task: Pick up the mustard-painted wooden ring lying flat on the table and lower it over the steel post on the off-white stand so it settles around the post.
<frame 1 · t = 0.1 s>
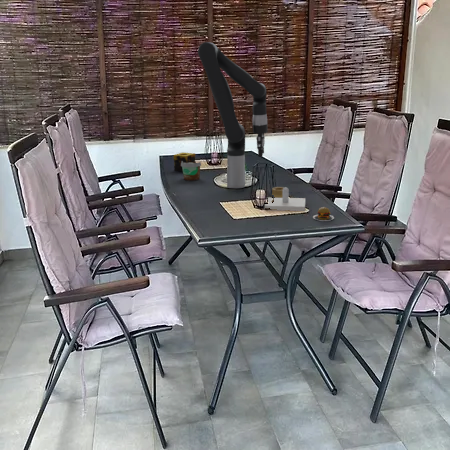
hand: (261, 154, 263), 17 cm above the table, tool pointing down, fingers open, 8 cm apart
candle: (185, 170, 315), on the table
hamburger: (323, 220, 215), on the table
food container: (189, 180, 289), on the table
post stand: (285, 206, 234), on the table
ring: (278, 197, 248), on the table
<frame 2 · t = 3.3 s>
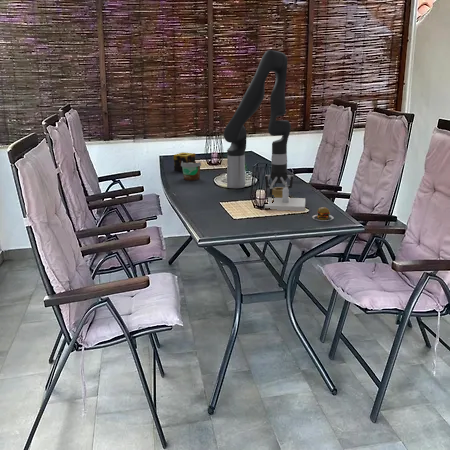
hand: (278, 195, 248), 1 cm above the table, tool pointing down, fingers closed on ring, 6 cm apart
ring: (278, 197, 248), on the table, touching gripper
everything else where it was.
when the fingers open (4 cm above the table, at t = 11.4 s): ring drops 1 cm, resting on post stand.
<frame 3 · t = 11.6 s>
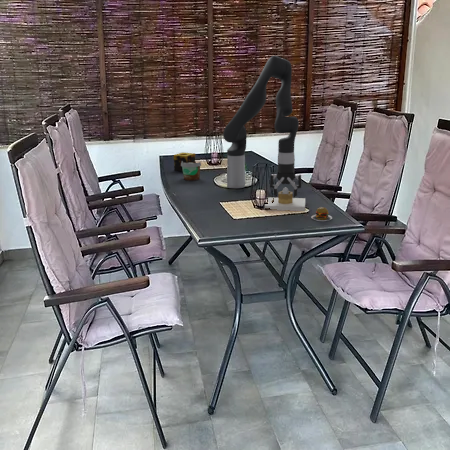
hand: (285, 196, 232), 5 cm above the table, tool pointing down, fingers open, 8 cm apart
ring: (285, 201, 233), point 2 cm above the table, touching post stand
everything else where it was.
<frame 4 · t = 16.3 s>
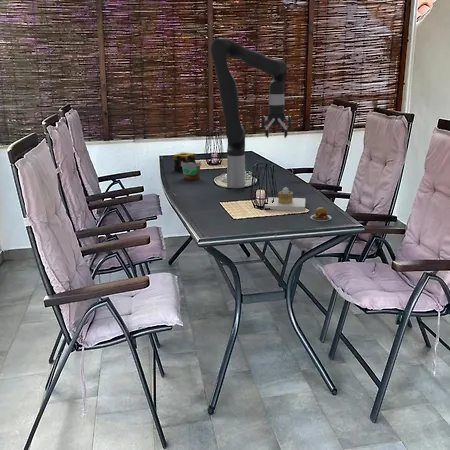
hand: (276, 137, 247), 28 cm above the table, tool pointing down, fingers open, 8 cm apart
at the end: ring 0.1 cm off-centre on the post stand, point 2.0 cm above the post stand's base; ring tilted 0°; the gripper is holding nothing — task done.
